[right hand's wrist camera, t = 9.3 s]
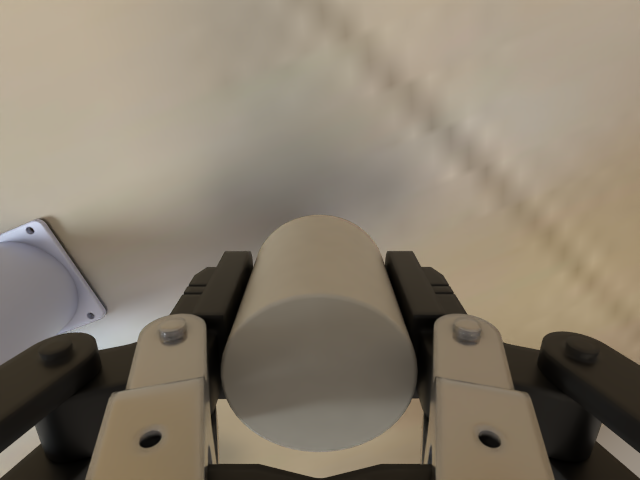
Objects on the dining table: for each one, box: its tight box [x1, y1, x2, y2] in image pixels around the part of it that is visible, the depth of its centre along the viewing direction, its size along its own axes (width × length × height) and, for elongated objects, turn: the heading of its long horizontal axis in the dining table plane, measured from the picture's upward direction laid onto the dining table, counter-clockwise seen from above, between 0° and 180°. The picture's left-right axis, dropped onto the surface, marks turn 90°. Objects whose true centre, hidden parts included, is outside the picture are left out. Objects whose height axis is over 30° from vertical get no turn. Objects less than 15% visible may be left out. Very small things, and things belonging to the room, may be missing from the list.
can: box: [221, 215, 418, 452], centre depth 10 cm, size 4×4×5 cm
